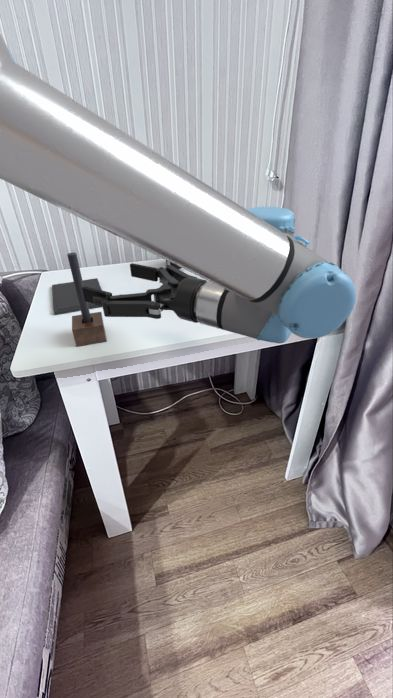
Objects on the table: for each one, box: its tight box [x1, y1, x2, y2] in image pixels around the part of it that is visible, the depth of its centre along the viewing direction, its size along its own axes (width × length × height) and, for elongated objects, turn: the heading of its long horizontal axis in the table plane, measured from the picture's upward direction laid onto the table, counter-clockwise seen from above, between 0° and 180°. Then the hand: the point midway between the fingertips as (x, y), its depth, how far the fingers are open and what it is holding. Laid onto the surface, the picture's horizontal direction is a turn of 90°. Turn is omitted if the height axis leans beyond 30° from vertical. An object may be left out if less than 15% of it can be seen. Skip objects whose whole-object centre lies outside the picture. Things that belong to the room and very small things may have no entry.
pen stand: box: [71, 311, 108, 347], centre depth 76 cm, size 7×7×4 cm
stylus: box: [66, 252, 92, 323], centre depth 71 cm, size 2×2×20 cm
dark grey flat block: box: [51, 277, 103, 316], centre depth 96 cm, size 20×14×1 cm
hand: (109, 280), depth 64 cm, fingers open, 13 cm apart
